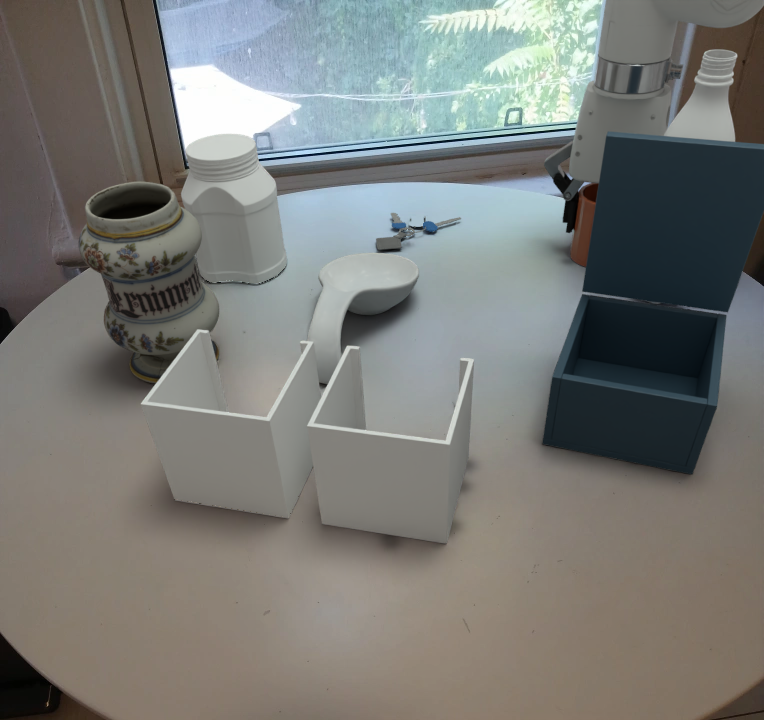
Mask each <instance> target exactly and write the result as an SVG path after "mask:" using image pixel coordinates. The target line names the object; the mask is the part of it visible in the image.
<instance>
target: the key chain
mask: <svg viewBox="0 0 764 720" xmlns="http://www.w3.org/2000/svg"><path fill="white" fill-rule="evenodd" d="M390 216H391V218H392V221H393V222H391V227H392V228H393V229H396V230H398V233H396V234H395V235H393V236H387V237H376V238H375V243H376V249H377V250H378V251H382V250H394V249H396V250H397V249H402V247H403V246H402V240H403V239H405V238H404V237H406V236H410V237H412V236H411V235H413V234H414V235H415V234H416V233H421V232H423V231H427V232H431V233H433V231H434V232H437V231H438V227H440V226H444V225H448V224H452V223H453V222H457V221H460V220H462V217H460V216H458V217H454V218H449V219H447V220H442V221H440V222H437V223H435V222H433V221H431V220H426V219H427V216H424V217H425V222H424V223H423V226H421V227H423V228H422V229H421V230H416V231H415V229H414V228H411V227H407V223H406V222H405V221H404V222H403V221H402V220H401V217H400V216H399V215H398V213H396V212H391V213H390ZM405 227H406V228H405ZM407 229H408V231H406V230H407ZM403 230H404V231H406V232H407V233H405V232H404V231H403ZM410 230H412V231H413V232H412V231H410ZM401 231H402V232H401ZM414 235H413V236H414ZM402 238H403V239H402ZM406 238H407V237H406ZM401 239H402V240H401Z"/></svg>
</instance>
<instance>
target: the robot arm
mask: <svg viewBox="0 0 764 720" xmlns="http://www.w3.org/2000/svg"><path fill="white" fill-rule="evenodd" d="M763 7H764V0H605V3H604V9H603V17H602V23H601V30H600V37H599V44H598V51H597V56H596V63H595V64H596V65H595V70H594V71H595V72H594V76H593V80H591V81H589V82H588V83H587V85H586V88H585V90H584V94H583V97H582V101H581V105H580V109H579V113H578V116H577V121H576V125H575V131H574V135H573V139H572V140H571V141H570V142H568V143H566V144H565V145H564V146H562V147H561V148H559V149H558V150H555V152H553V153H552V154H550V155H549V156H548V157H546V159H545V160H544V163H543V166H544V168H545V170H546V172H547V173H548V175H549V177H550V178H551V179H552V181H553V184H554V185H555V187H556V188H557V189H558V190H559V192H560V193H561V194H562V199H563V200H564V206H563V207H564V208H563V213H562V214H563V215H562V223H564V224H566V226H565V227H566V228H565V233H567V234H571V233H573V227H574V220H575V213H576V207H577V200H578V193H579V190H580V189H581V188H582V187H583V186H584V183H588V184H589V183H598V184H599V179H600V173H601V166H602V160H603V153H604V147H605V140H606V135H607V132H608V131H610V132H622V133H634V134H646V135H658V136H664V134H665V132H666V130H667V129H668V127H669V121H670V114H671V103H672V87H671V86H670V85H669V84H666V83H669V81H673V80H680V79H681V77H682V74H683V69H684V64H681V63H677V62H674V59H672V52H673V47H674V42H675V38H676V33H677V29H678V24H679V22H681V23H687V24H692V25H697V26H698V25H699V26H703V27H706V28H707V27H708V28H713V29H714V28H715V29H726V28H732V27H736V26H739V25H741V24H744V23H746V22H747V21H749V20H750V19H752V18H753V17H754V16H755V15H757V14H758V13H759V12H760V11H761V10H762V8H763ZM568 159H569V164H568V174H569V175H568V174H567V173H566V171H564V170H563V169H562V166H561V164H562V163H563V162H566V161H567V160H568ZM569 176H570V177H569Z"/></svg>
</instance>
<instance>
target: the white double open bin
mask: <svg viewBox="0 0 764 720" xmlns="http://www.w3.org/2000/svg"><path fill="white" fill-rule="evenodd" d="M211 339H212V336H211V332H210V333H209V331H208V330H199V329H197V331H196V332H195V333H194V335H193V336H192V337H191V338H190V340H189V341H188V342H187V344H186V345H185V346H184V348H183V349H182V350H181V352H180V353H179V354H178V355H177V357H176V358H175V359H174V361H173V362H172V363H171V365H170V366H169V367H168V369H167V370H166V371H165V373H164V374H163V375H162V376H161V378H160V379H159V380H158V382H157V383H156V384H154V386H153V387H152V388H151V389H150V390H149V392H148V393H147V395H146V396H145V398H144V399H143V400H142V401H141V402H140V407H141V409H142V412H143V414H144V415H143V416H144V418H145V420H146V422H147V426H148V428H149V432H150V435H151V438H152V440H153V443H154V446H155V450H156V452H157V455H158V457H159V460H160V463H161V466H162V469H163V472H164V475H165V478H166V480H167V483H168V486H169V488H170V491H171V494H172V497H173V499H178V500H174V501H176V502H181V503H189V504H195V505H201V506H208V507H212V508H213V507H214V508H219V509H226V510H230V511H231V510H232V511H237V512H244V513H245V512H246V513H251V514H258V515H263V516H270V517H277V518H283V519H288V520H289V519H290V517H291V515H292V513H293V511H294V510H295V509H294V508H295V507H296V505H297V503H298V500H299V498H300V496H301V494H302V492H303V489H304V487H305V485H306V483H307V480H308V479H309V476H310V474H311V472H312V469H313V474H314V481H315V487H316V493H317V500H318V501H317V502H318V507H319V512H320V513H319V515H320V520H321V525H326V526H333V527H337V528H338V527H339V528H343V529H344V528H345V529H351V530H358V531H364V532H370V533H377V534H383V535H389V536H396V537H402V538H407V539H413V540H414V539H415V540H420V541H426V542H433V543H439V544H444V545H445V544H446V545H447V544H448V540H449V536H450V533H451V529H452V526H453V525H452V524H453V521H454V516H455V512H456V510H457V509H456V508H457V505H458V501H459V498H460V493H461V489H462V486H463V481H464V478H465V474H466V470H467V467H468V461H469V458H470V457H469V456H470V443H471V421H472V407H473V406H472V405H473V390H474V389H473V387H474V386H473V385H474V368H475V358H467V357H460V358H459V375H458V396H457V399H456V404H455V407H454V411H453V414H452V418H451V420H450V424H449V428H448V430H447V433H446V434H447V435H446V438H445V440H444V439H437V438H429V437H421V436H413V435H405V434H398V433H390V432H382V431H376V430H367V423H366V410H365V395H364V384H363V382H364V381H363V370H362V358H361V346H356V345H348V344H347V345H346V347H345V349H344V351H343V353H342V357H341V359H340V361H339V363H338V365H337V367H336V369H335V371H334V373H333V375H332V377H331V379H330V381H329V383H328V384H326V387H325V388H324V391H323V393H322V395H321V389H320V383H319V380H318V372H317V364H316V357H315V349H314V342H311V341H307V340H301V341H299V346H300V352H301V355H300V356H299V359H298V360H297V362H296V364H295V365H294V368H293V369H292V371H291V373H290V375H289V376H288V378H287V380H286V381H285V384H284V386H283V387H282V388H281V391H280V392H279V393H278V395H277V398H276V400H275V401H274V403H273V404H272V407H271V408H270V410H269V412H268V414H267V415H266V416H259V415H253V414H247V413H246V414H245V413H238V412H230V411H229V405H228V402H227V398H226V393H225V391H224V386H223V382H222V378H221V373H220V370H219V366H218V362H217V361H218V360H217V361H216V357H215V353H214V349H213V345H212V341H211ZM298 496H299V497H298ZM181 500H183V501H181ZM187 501H188V502H187ZM189 501H190V502H189ZM191 501H192V502H191ZM193 502H197V503H193ZM199 503H202V504H199ZM206 504H207V505H206ZM212 505H214V506H212ZM215 505H216V506H215ZM218 506H221V507H218ZM225 507H227V508H225ZM231 508H233V509H231ZM237 509H240V510H237ZM292 509H293V510H292ZM243 510H246V511H243ZM250 511H252V512H250ZM256 512H258V513H256ZM262 513H264V514H262ZM290 513H291V514H290ZM269 514H270V515H269ZM275 515H276V516H275ZM281 516H283V517H281ZM288 517H289V518H288Z"/></svg>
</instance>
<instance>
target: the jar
mask: <svg viewBox="0 0 764 720" xmlns="http://www.w3.org/2000/svg"><path fill="white" fill-rule="evenodd" d="M185 157H186V162H187V163H188V164H187V165H188V168H189V171H188V174H187V177H186V179H185V182H184V184H183V187H182V190H181V191H180V192H181V193H180V196H181V201H182V205H183V208H184V209H186V210H187V211H189V212H190V213H191V214H192V215H193V216H194V217H195V218H196V220H197V221H198V223H199V225H200V227H201V231H202V240H201V244H200V247H199V249H198V251H197V253H196V254H195V257H196V264H197V268H198V272H199V275H200V277H201V278H202V277H203V278H204V279H203V278H202V279H203V280H204V281H206V280H207V281H209V282H219V281H226V280H227V281H229V280H230V281H232V280H233V281H242V282H249V283H259V282H263V281H266V280H268V281H266V282H263V283H260V284H254V285H257V286H258V285H261V284H264V283H267V282H269V281H270V280H269V279H270V278H272V277H274V276H276V275H277V276H276V277H278V276H279V275H280V274H281V273H282V272H283V271H284V270H285V269H286V267H287V265H286V263H287V264H288V258H287V257H288V256H287V250H286V248H285V242H284V235H283V227H282V222H281V214H280V208H279V200H278V189H277V187H278V186H277V182H276V180H275V178H274V177H273V176H272V175H271V174H270V173H269V172H268V170H266V168H265V167H264V166H263V165H262V164H261V163H260V161H259V160H260V159H259V154H258V147H257V143H256V140H255V139H254V138H252V137H250V136H249V135H245V134H240V133H219V134H213V135H207V136H204V137H201V138H197V139H195V140H193V141H192V142H191V143H189V144H188V145H187V146H186V148H185ZM285 266H286V267H285ZM284 268H285V269H284ZM283 269H284V270H283ZM282 270H283V271H282ZM281 271H282V272H281ZM280 272H281V273H280ZM279 273H280V274H279ZM278 274H279V275H278ZM276 277H274V278H273V279H275V278H276ZM207 281H206V282H207ZM209 282H208V283H209ZM242 282H237V283H239V284H243V283H242ZM224 283H225V284H226V283H227V282H221V283H220V284H224ZM245 284H246V285H249V284H248V283H245Z"/></svg>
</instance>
